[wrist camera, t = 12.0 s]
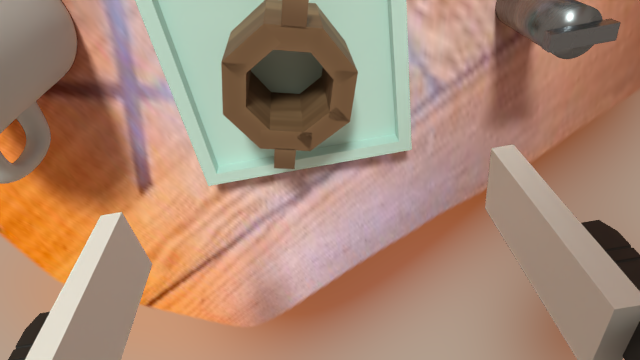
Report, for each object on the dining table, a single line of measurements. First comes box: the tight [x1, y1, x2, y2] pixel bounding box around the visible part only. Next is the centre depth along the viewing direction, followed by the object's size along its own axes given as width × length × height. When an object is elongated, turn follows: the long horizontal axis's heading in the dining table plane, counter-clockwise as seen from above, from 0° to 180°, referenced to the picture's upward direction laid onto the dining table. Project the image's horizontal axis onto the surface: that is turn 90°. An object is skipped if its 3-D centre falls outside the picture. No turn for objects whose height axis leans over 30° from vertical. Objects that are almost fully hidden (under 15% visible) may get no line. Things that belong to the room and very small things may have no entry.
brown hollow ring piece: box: [221, 0, 358, 169], centre depth 28 cm, size 11×8×6 cm
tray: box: [135, 0, 412, 186], centre depth 30 cm, size 17×17×2 cm
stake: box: [496, 0, 620, 59], centre depth 27 cm, size 3×4×8 cm
